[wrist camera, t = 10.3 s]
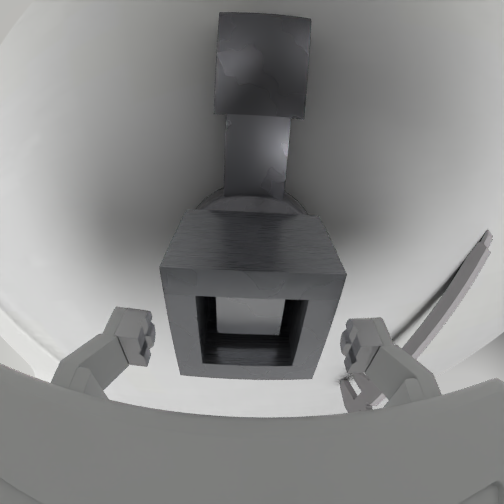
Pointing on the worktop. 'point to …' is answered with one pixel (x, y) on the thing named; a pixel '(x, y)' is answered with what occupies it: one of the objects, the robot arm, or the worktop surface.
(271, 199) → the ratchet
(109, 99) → the worktop surface
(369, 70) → the worktop surface
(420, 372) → the robot arm
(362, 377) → the caliper
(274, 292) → the grey metal block
